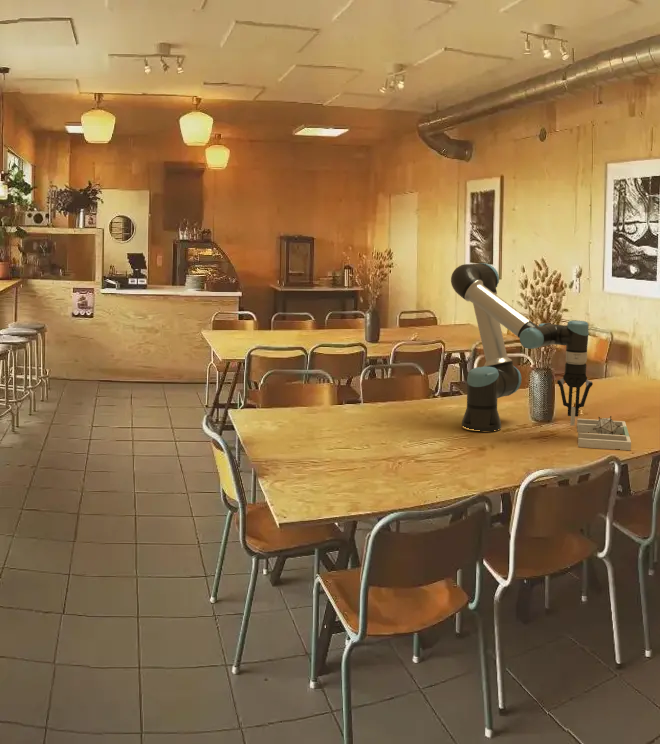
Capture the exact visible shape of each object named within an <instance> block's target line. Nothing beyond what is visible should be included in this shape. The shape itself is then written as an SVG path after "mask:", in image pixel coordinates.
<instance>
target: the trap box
mask: <svg viewBox="0 0 660 744" xmlns="http://www.w3.org/2000/svg"><path fill="white" fill-rule="evenodd" d="M598 421H599V419H589V418H577V419H576V433H577V447H578V448H587V449H590V448H591V449H600V450H601V449H602V450H603V449H604V450H615V449H620V451H630V450H631V449H632V441H631V437H630V436H631V435H630V433H629V430H628V426H627V424H626V421H624V420H613V421H614V422H615V423H616V424H617V426H620V427H618V428H617V430H616V432H615V434H614V435H611V434H599V433H598V432H597V431H596V430H595V429H594V430H593V428H595V427H596V425H597V423H598ZM588 432H589V433H588ZM620 434H623V435H620ZM631 451H632V450H631Z"/></svg>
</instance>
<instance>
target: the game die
mask: <svg viewBox="0 0 660 744" xmlns="http://www.w3.org/2000/svg"><path fill="white" fill-rule="evenodd" d="M597 418H598V420H599V421H598V423H597V425H596V427H595V428H593V430H594V429H595V430H596V431H597V432H598V433H597V434H611V435H616V434H615V432H616V430H617V428H618V427H620V426H617V424H616V423H615V422H614V421H615V420H613V419H612V415H610V417H603V418H602V417H600V416H598V417H597Z"/></svg>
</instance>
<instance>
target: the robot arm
mask: <svg viewBox="0 0 660 744" xmlns="http://www.w3.org/2000/svg"><path fill="white" fill-rule="evenodd" d="M499 282H500V276H499V273H498V271H497V269H496V268H495V267H494V266H493V265H491V264H489V263H483V262H479V263H469V264H467V263H464V264H461V265H459V266H458V267H456V268H455V269H454V270H453V272H452V273H451V276H450V283H451V287H452V289H453V290H454V291H455V293H457V295H458V296H460V298H462V299H464V300H465V301H466V302H471V303H472V305H473V309H474V313H475V317H476V322H477V326H478V331H479V336H480V337H479V338H480V340H481V345H482V348H483V349H482V350H483V354H484V358H485V362H484V364H483V366H477V367H474V368H472V369H470V370H468V373H467V379H466V383H467V384H466V385H467V388H466V409H465V412H464V415H463V417H462V421H461V427H462V426H464V427H466V428H469V429H474V430H480V431H494V430H498V429H500V428H501V429H502V422H501V418H500V415H499V411H498V399H499V398H503V397H508V396H511V395H513V394H514V393H516V392H517V391H519V389H520V387H521V385H522V380H523V379H522V374H521V372H520V370H519V369H518V368H517V367H516V366H514V363H513V359H512V358H510V357H509V356H508V354H507V350H506V345H505V341H504V340H505V339H504V336H503V331H502V327H505V328H506V329H507V330H508V331H510V332H511V333H512V334H513V335H515V336H516V337H517V338H518V339H519V342H520V345H521V346H522V347H524V348H525V349H539V348H543V347H547V346H551V345H556V346H557V345H558V346H565V347H566V348H565V364H564V375H562V376H563V377H561V378H560V379H557V380H556V381H557V382H556V383H557V385H558V387H559V389H560V395H561V400H562V405H563V406H564V407H566V408H567V416H568V417H570V421H569V422H570V423H569V425H570V426H575V425H576V424H575V422H576V417H579V409H580V408H583V407H584V406H585V403H586V401H587V398H588V394H589V392H590V389H591V388H592V386H593V381H591V380H589V379H588V377H587V364H586V363H587V362H588V345H589V344H588V343H589V334H590V333H589V323H588V322H587V321H585V320H569V321H568V322H567V325H564V324H563V325H562V324H555V323H551V322H549V323H548V322H547V323H544V322H542V323H539V324H538V325H537V324H536V323H534V322H533V321H531V319H529V318H527V316H525V315H524V314H522V313H521V312H519V311H518V310H517V309H516V308H514V307H513V306H512V305H510V304H509V303H507V301H505V300H504V299H502V298H501V297H500V296H498V295H497V294H498V291H497V287H498V285H499ZM501 325H502V326H501ZM564 384H566V385H567V386H568V398H567V399H568V401H567V399H566V394H565V388H564ZM584 384H585V389H584V392H583V395H582V397H581V401H580V394H581V393H580V391H581V388H582V387H583V386H584ZM573 388H575V389H576V390H575V404H574V405H575V406H572V402H573V390H574V389H573ZM501 429H500V430H501Z"/></svg>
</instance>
